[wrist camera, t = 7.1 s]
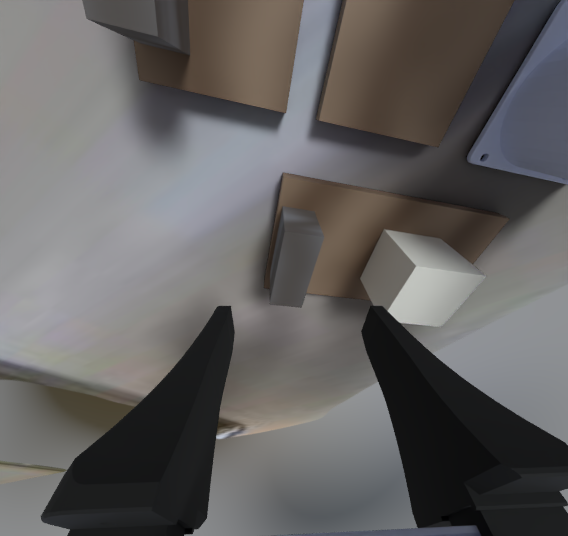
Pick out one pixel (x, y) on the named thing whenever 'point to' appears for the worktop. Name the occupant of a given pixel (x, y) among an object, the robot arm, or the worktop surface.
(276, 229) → the walnut strip
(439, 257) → the ceramic block
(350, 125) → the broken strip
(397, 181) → the worktop surface
